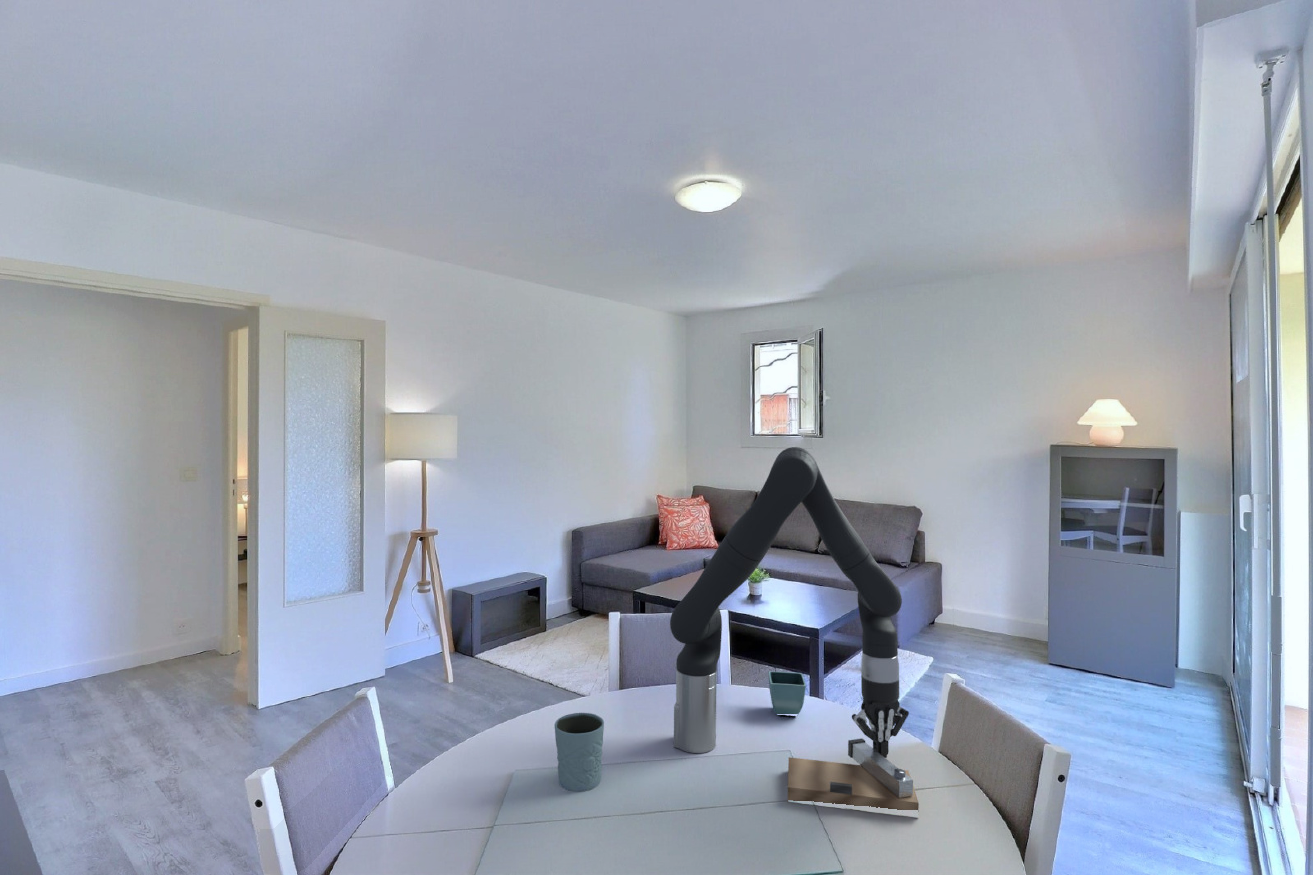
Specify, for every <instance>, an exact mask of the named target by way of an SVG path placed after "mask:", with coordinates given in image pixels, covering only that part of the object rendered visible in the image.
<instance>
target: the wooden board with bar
mask: <svg viewBox="0 0 1313 875" xmlns="http://www.w3.org/2000/svg"><path fill="white" fill-rule="evenodd" d="M787 768H788V770H787V772H788V773H787V801H788V800H793V801H814V802H823V803H832V804H834V803H835V804H846V805H854V806H869V807H870V806H871V807H876V808H878V807H880V808H888V809H897V810H918V811H919V808H920V807H919V803H920V802H919V799H918V796H917V792H916V790H915V787H914V786H913V796H907V797H901V798H899V797H898V796H896V795H895V794H894V793H893V792H892V791H891V790H889V789H888V788H887V787H886V786H885V785H883V784H882V783H881V782H880V781H879V780H878V779H876V778H875V777H874V776H873V775H872V774H871V773H869V772H868V771H867V770H866V769H865V768H863V767H862V766H861V765H860V764H854V763H853V764H852V763H845V762H844V763H843V762H835V761H826V760H817V759H807V758H799V757H788V767H787ZM903 770H904V771H905V774H906V775H907V776H909V777H910V778H911V774H910V772H909V770H906V769H903ZM911 779H912V778H911Z"/></svg>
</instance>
